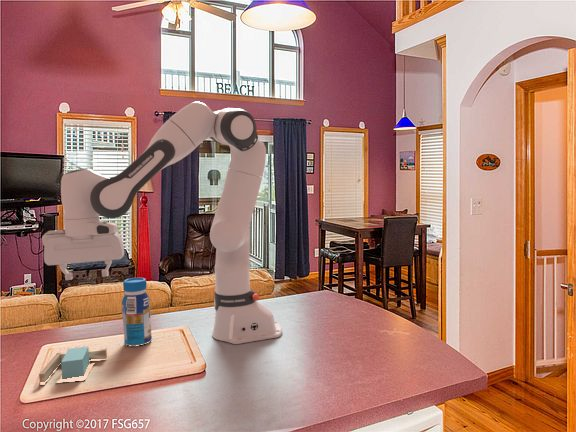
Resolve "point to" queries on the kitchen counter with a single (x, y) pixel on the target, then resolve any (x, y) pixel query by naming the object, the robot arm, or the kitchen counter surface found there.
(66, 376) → the teal block
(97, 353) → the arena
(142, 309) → the beverage bottle
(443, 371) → the kitchen counter surface
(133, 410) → the kitchen counter surface
